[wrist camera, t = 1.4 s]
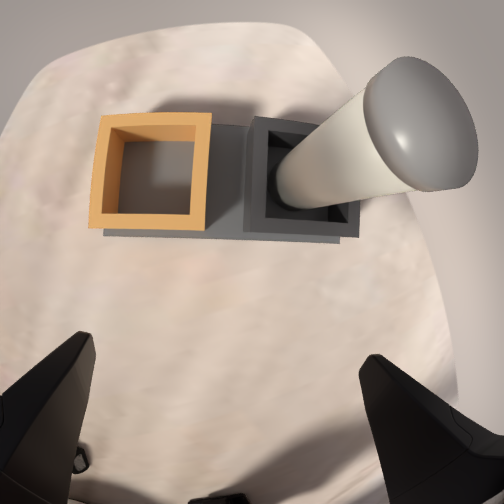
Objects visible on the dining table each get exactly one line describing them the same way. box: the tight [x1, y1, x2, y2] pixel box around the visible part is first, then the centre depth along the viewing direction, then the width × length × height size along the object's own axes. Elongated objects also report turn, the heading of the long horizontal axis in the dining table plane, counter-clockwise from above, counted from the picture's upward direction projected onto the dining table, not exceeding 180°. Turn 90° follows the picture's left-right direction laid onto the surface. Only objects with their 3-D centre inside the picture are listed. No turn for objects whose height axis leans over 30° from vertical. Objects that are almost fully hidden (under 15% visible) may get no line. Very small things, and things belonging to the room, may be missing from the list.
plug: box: [268, 57, 478, 211], centre depth 12 cm, size 4×4×13 cm
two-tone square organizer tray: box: [88, 112, 360, 244], centre depth 16 cm, size 16×8×4 cm, turn 87°
